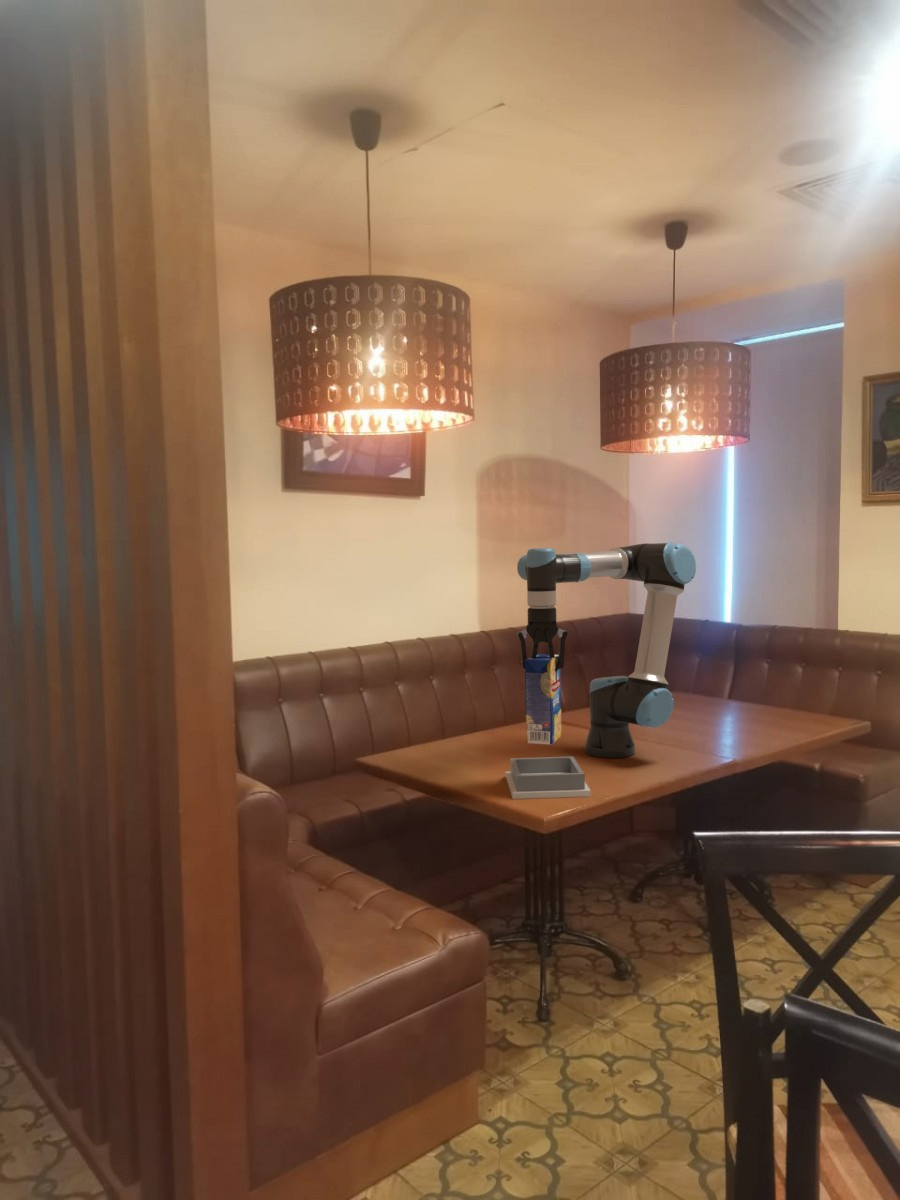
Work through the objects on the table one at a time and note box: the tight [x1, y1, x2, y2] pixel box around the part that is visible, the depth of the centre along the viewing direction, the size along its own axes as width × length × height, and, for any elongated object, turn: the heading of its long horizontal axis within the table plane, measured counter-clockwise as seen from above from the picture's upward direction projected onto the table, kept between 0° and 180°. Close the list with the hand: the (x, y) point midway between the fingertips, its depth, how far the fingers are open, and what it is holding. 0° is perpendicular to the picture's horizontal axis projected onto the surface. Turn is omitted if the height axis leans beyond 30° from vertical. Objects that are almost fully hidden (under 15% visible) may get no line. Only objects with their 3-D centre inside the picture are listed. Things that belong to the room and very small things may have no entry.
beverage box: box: [524, 653, 562, 745], centre depth 226 cm, size 7×11×22 cm, turn 159°
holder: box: [505, 756, 592, 800], centre depth 227 cm, size 20×20×6 cm
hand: (543, 694), depth 226 cm, fingers closed on beverage box, 3 cm apart
